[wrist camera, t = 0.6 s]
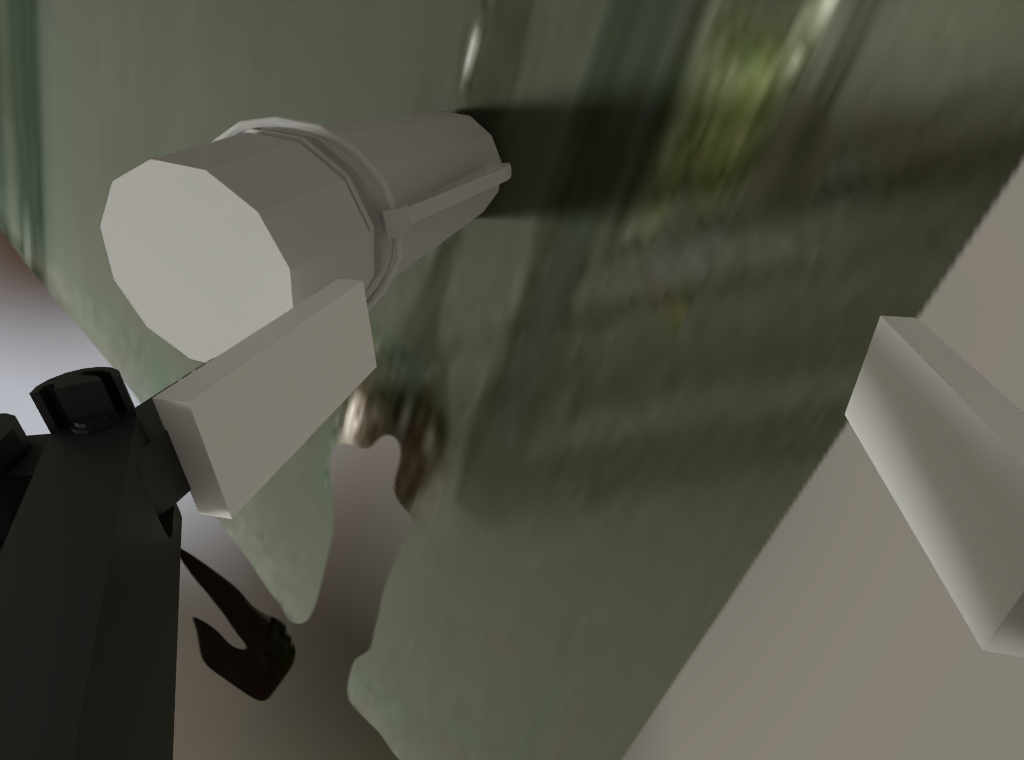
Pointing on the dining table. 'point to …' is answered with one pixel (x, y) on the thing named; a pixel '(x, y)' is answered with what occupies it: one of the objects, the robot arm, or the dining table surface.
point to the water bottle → (289, 217)
